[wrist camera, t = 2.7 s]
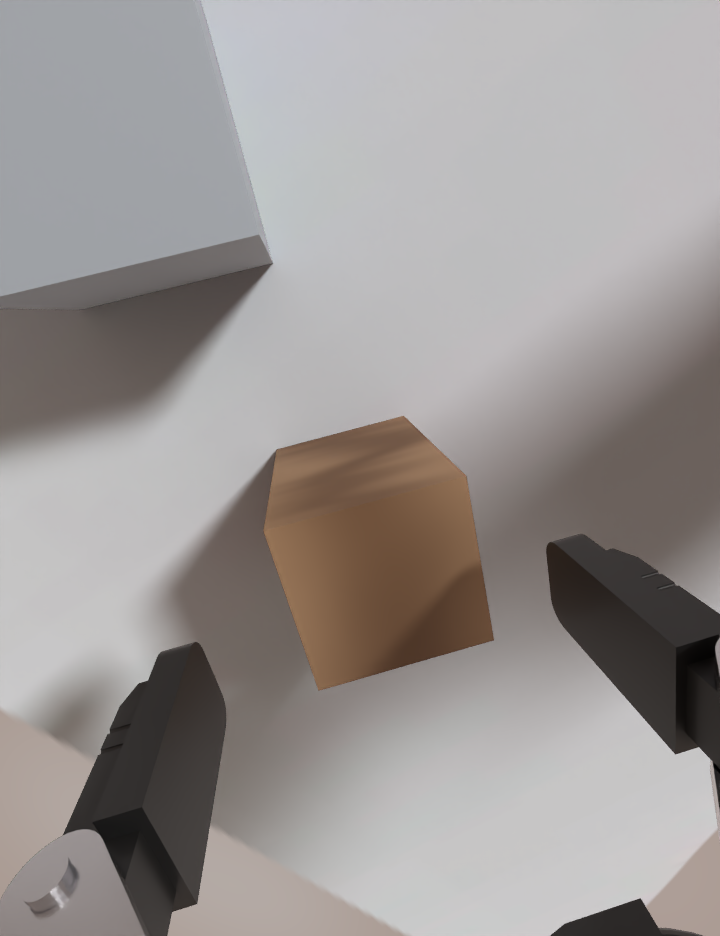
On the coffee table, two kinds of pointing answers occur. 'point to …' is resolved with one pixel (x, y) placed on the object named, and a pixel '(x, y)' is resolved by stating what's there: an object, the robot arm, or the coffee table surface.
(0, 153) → the grey block
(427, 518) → the walnut block
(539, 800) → the coffee table surface
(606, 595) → the robot arm
